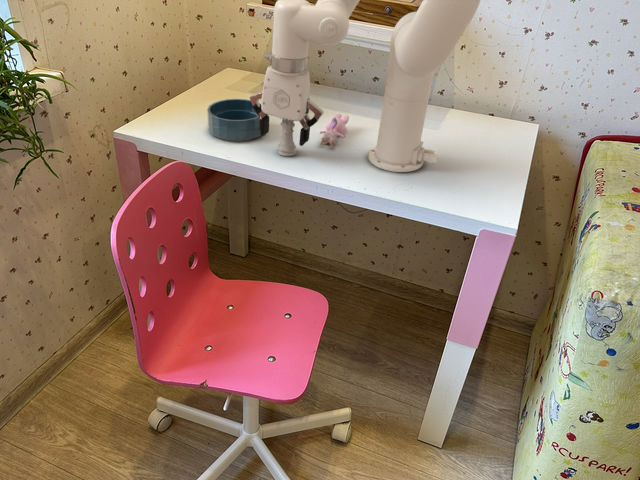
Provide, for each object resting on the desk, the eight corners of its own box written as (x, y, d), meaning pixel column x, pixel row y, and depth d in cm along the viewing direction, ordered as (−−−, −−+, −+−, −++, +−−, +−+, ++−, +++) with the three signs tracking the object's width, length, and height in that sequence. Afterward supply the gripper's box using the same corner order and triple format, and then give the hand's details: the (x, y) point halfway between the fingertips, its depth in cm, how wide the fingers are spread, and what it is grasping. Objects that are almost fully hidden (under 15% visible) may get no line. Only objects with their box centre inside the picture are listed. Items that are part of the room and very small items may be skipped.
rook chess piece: (300, 153, 131) (301, 120, 126) (287, 159, 128) (288, 125, 123) (286, 147, 133) (287, 114, 128) (273, 152, 130) (273, 120, 125)
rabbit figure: (338, 155, 133) (355, 123, 143) (339, 133, 129) (356, 102, 139) (313, 150, 135) (331, 119, 145) (313, 128, 131) (332, 98, 140)
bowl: (274, 126, 143) (275, 105, 139) (250, 147, 132) (250, 125, 129) (225, 115, 147) (224, 95, 144) (198, 135, 137) (196, 114, 133)
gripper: (244, 60, 118) (242, 136, 128) (321, 76, 113) (312, 153, 123) (259, 51, 123) (256, 125, 134) (333, 66, 118) (324, 141, 129)
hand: (283, 138), depth 128 cm, fingers open, 9 cm apart
